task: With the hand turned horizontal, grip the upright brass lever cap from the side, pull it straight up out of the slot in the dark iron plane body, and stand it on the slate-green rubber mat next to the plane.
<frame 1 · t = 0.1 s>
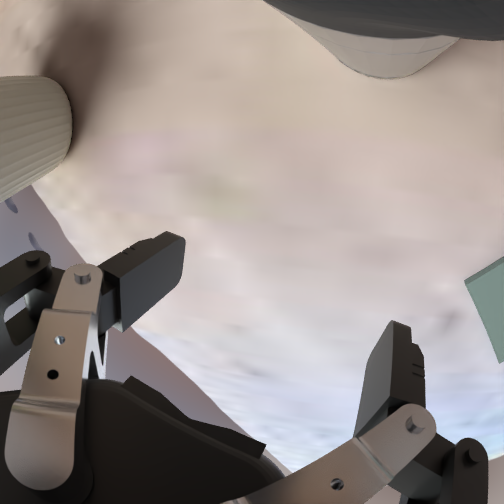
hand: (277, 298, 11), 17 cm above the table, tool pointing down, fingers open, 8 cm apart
canister: (53, 121, 35), on the table
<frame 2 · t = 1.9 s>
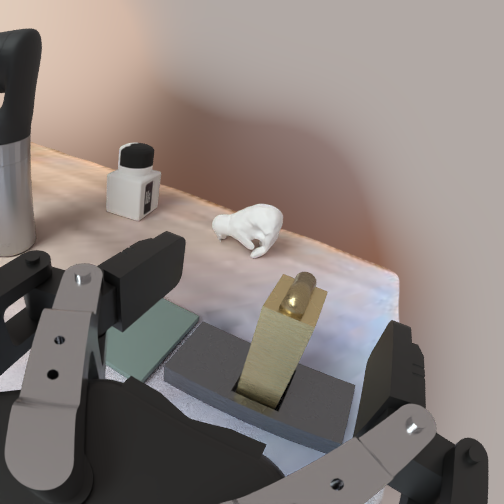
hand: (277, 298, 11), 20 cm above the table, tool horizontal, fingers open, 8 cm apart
mat: (129, 326, 35), on the table
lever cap: (277, 349, 27), in the plane body
container: (132, 210, 60), on the table
white humped figurine: (240, 246, 57), on the table
plane body: (259, 394, 31), on the table
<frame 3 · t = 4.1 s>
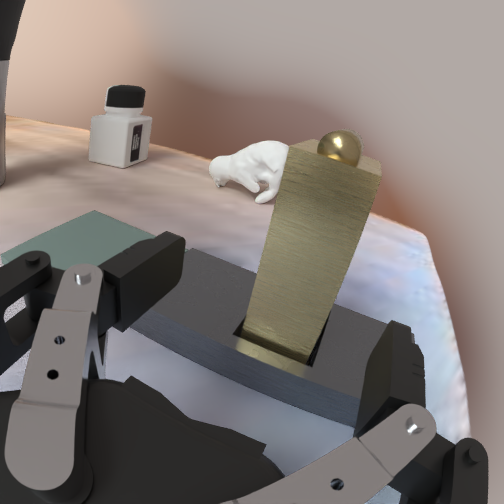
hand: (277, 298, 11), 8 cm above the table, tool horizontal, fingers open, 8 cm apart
mat: (91, 260, 25), on the table
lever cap: (309, 259, 17), in the plane body
container: (118, 161, 50), on the table
white humped figurine: (243, 194, 47), on the table
plane body: (276, 349, 21), on the table
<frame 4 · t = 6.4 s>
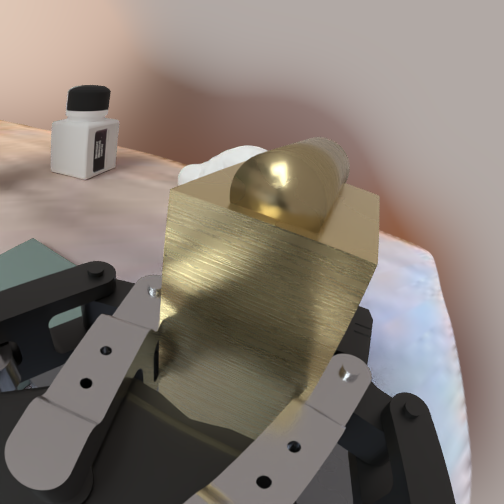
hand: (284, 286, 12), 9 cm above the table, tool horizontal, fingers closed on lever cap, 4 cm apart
mat: (16, 306, 18), on the table
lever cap: (250, 359, 10), in the plane body, touching gripper
container: (82, 170, 43), on the table
white humped figurine: (217, 209, 40), on the table
plane body: (221, 446, 14), on the table
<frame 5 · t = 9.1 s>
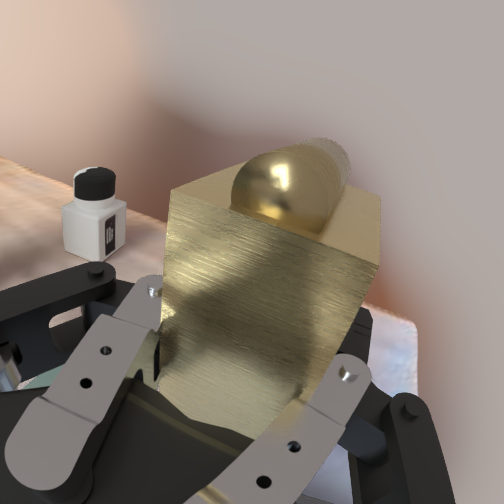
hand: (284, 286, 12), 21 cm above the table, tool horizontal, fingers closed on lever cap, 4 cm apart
mat: (70, 423, 23), on the table
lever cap: (251, 359, 10), point 19 cm above the table, touching gripper
container: (94, 248, 48), on the table
when the fingers open (11 cm above the table, at t = 12.2 s): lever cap drops 1 cm, resting on mat.
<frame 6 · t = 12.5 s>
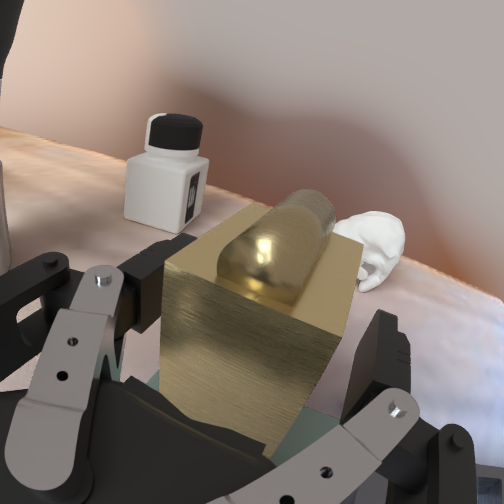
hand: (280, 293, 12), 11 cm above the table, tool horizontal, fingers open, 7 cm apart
mat: (215, 463, 15), on the table
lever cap: (242, 387, 11), on the mat, point 8 cm above the table
container: (163, 217, 40), on the table
white humped figurine: (337, 273, 37), on the table
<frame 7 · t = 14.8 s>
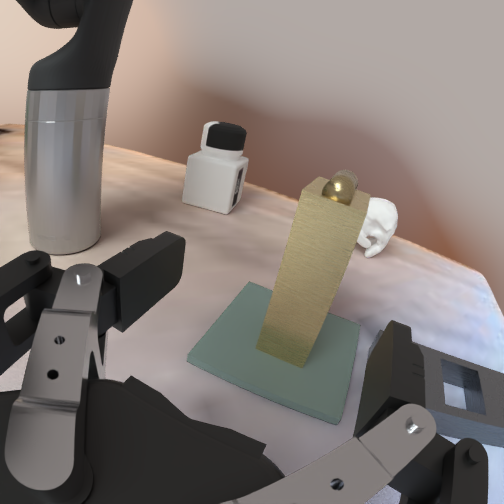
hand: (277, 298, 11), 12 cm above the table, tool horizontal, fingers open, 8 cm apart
mat: (284, 346, 27), on the table
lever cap: (314, 269, 23), on the mat, point 8 cm above the table
container: (211, 202, 52), on the table
white humped figurine: (348, 245, 49), on the table
plane body: (448, 403, 23), on the table
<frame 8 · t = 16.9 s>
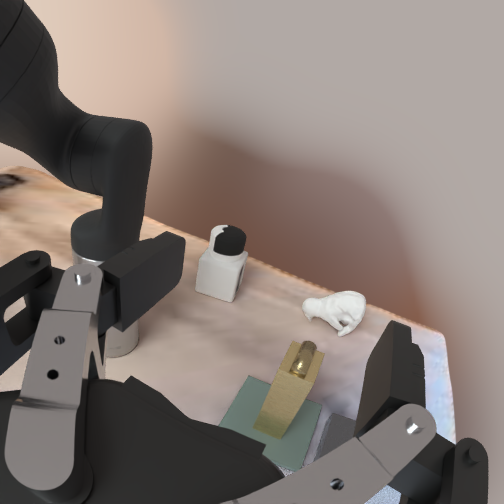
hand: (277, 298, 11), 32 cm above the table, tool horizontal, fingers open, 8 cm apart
mat: (270, 423, 40), on the table
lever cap: (287, 392, 36), on the mat, point 8 cm above the table
container: (218, 288, 65), on the table
white humped figurine: (326, 324, 62), on the table
plane body: (375, 459, 36), on the table
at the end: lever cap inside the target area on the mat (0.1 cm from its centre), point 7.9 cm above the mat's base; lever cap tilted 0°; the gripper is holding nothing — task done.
